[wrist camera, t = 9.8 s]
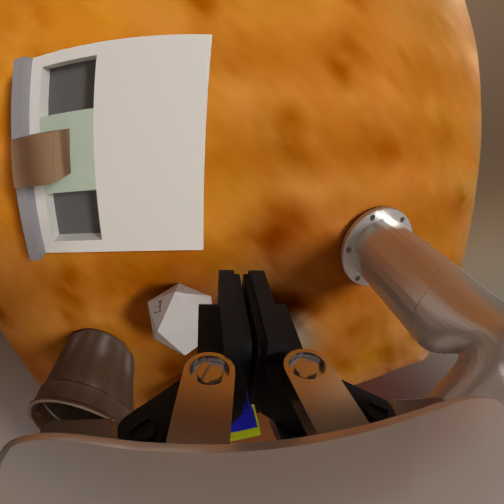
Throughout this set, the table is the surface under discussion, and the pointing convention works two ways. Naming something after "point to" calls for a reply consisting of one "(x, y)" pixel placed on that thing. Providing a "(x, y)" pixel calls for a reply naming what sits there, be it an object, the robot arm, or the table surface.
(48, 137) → the block
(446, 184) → the table surface
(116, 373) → the plant pot
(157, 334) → the die
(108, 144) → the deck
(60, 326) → the table surface
